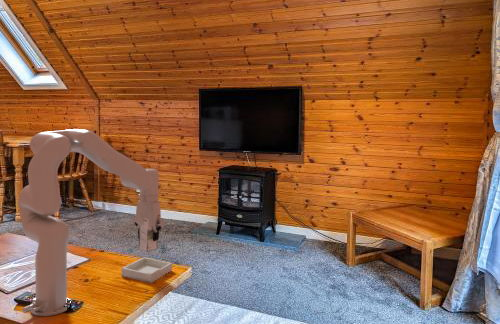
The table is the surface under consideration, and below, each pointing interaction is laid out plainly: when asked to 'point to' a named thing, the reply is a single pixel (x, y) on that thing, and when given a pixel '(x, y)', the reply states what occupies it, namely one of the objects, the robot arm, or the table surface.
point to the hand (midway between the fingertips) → (148, 238)
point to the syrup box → (146, 237)
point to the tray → (146, 269)
